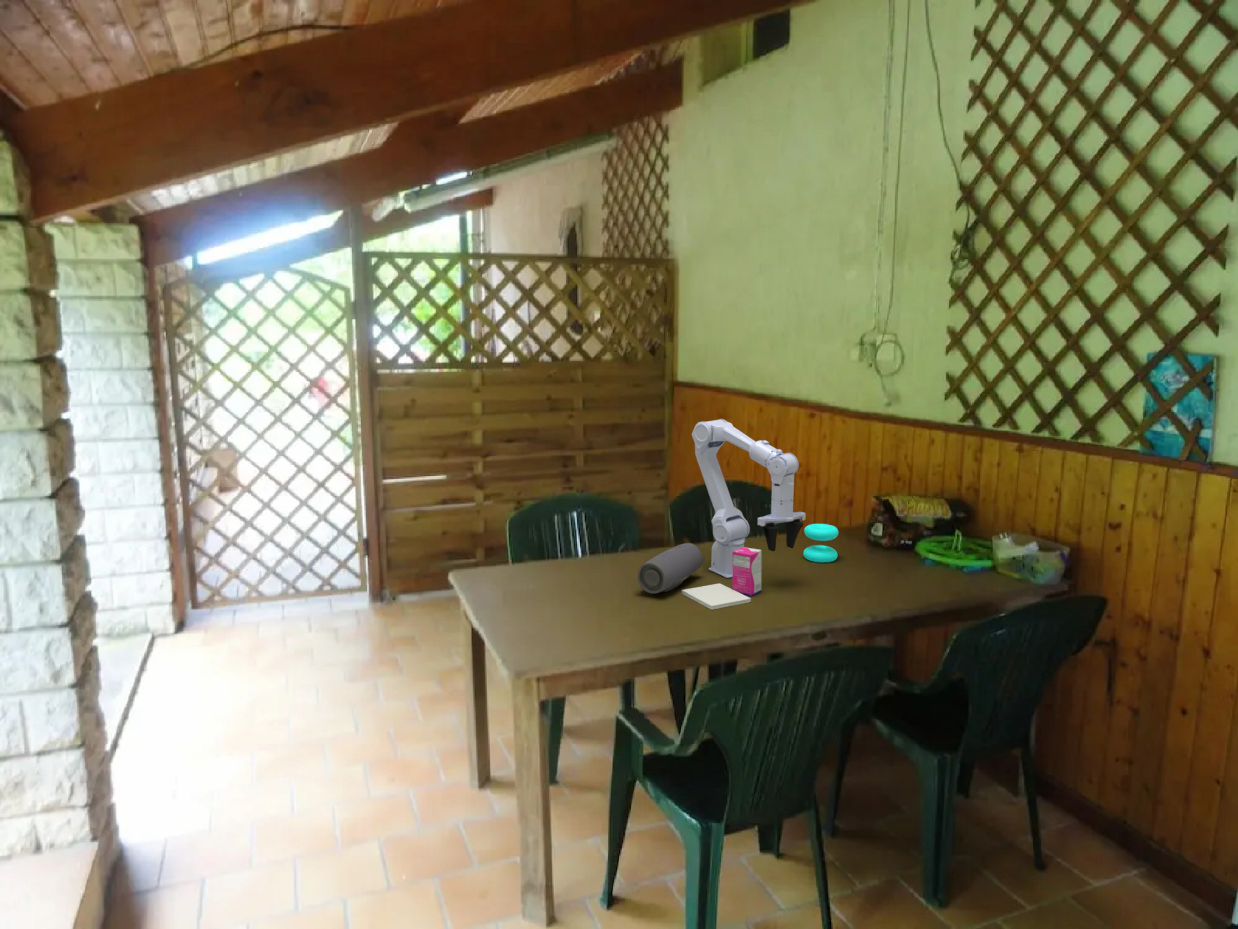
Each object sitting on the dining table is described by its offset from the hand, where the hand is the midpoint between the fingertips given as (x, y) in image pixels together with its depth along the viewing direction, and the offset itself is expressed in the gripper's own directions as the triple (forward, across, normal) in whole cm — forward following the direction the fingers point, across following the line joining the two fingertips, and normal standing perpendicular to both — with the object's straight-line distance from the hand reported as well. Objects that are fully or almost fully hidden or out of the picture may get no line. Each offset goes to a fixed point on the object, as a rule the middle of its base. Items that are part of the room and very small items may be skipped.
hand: (780, 548), depth 221 cm
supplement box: (+11, -11, 0) cm, 15 cm away
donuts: (+11, +27, +15) cm, 33 cm away
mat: (+10, -21, 0) cm, 23 cm away
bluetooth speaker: (+11, -26, +14) cm, 31 cm away
